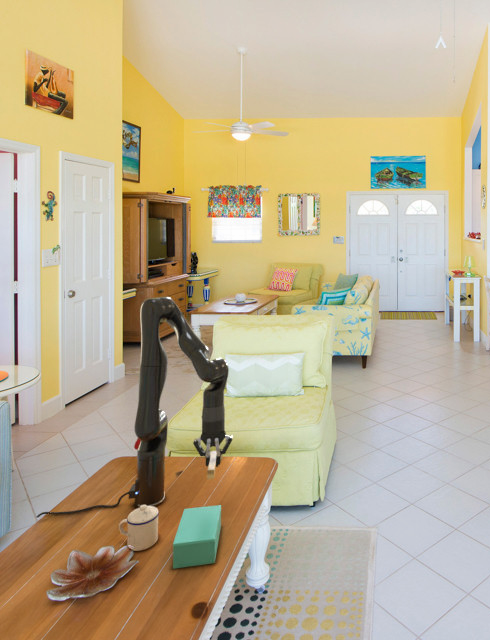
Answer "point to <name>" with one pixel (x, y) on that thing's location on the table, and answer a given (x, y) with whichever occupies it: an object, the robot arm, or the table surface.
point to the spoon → (212, 465)
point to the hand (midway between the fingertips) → (213, 466)
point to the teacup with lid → (141, 527)
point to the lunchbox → (196, 552)
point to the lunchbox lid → (198, 525)
